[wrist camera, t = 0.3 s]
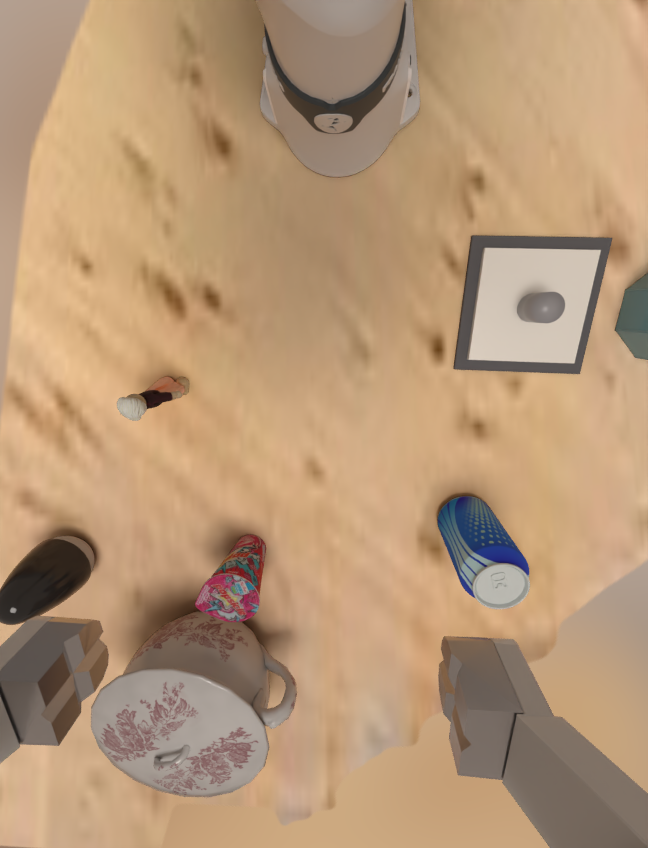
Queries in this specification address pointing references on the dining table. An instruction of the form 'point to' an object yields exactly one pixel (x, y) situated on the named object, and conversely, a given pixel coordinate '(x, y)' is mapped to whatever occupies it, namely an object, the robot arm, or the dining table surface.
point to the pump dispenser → (45, 578)
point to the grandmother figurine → (152, 397)
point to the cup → (235, 583)
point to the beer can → (483, 553)
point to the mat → (471, 289)
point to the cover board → (515, 284)
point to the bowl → (635, 318)
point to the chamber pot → (192, 708)
